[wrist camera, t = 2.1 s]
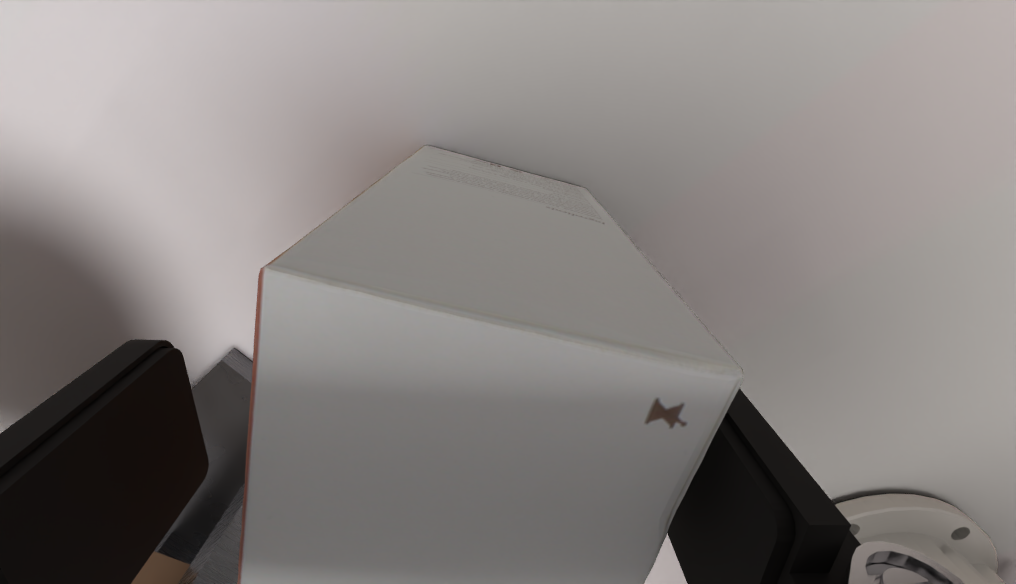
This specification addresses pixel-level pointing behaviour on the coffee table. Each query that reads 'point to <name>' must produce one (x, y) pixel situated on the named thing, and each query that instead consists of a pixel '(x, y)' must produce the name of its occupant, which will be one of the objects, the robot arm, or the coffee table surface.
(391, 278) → the small box
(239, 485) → the beam stand
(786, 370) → the coffee table surface
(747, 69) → the coffee table surface
